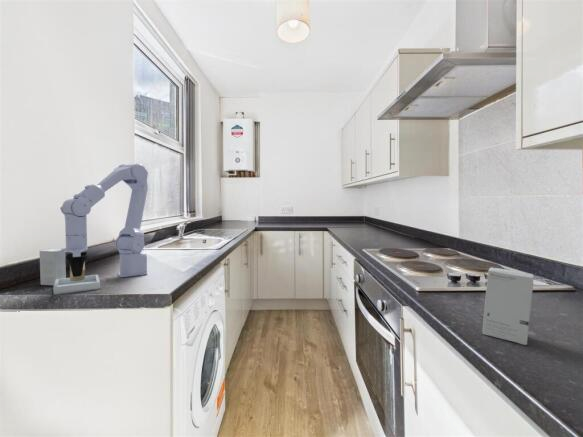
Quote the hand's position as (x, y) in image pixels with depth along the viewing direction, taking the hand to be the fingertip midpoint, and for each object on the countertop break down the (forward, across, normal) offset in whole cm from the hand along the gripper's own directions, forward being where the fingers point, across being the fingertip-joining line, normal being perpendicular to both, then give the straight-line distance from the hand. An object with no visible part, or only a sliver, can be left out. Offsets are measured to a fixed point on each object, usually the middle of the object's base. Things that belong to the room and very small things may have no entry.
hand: (77, 274), depth 97 cm
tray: (+4, 0, 0) cm, 4 cm away
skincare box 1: (+4, -10, -7) cm, 13 cm away
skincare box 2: (+4, +98, +78) cm, 125 cm away
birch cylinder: (+2, 0, 0) cm, 2 cm away
